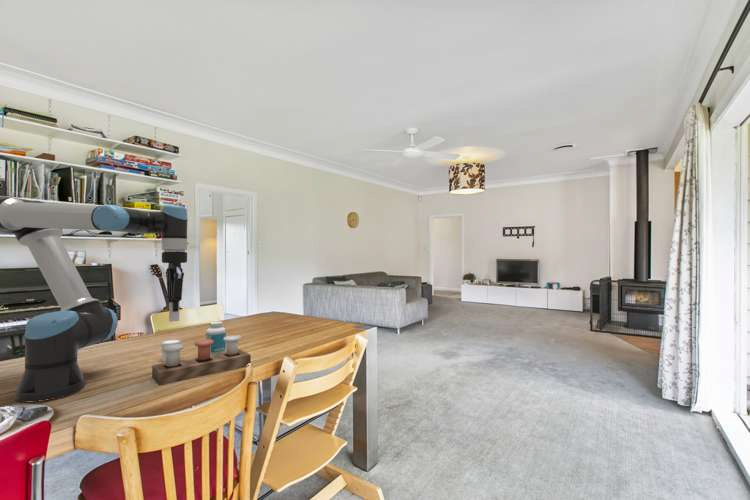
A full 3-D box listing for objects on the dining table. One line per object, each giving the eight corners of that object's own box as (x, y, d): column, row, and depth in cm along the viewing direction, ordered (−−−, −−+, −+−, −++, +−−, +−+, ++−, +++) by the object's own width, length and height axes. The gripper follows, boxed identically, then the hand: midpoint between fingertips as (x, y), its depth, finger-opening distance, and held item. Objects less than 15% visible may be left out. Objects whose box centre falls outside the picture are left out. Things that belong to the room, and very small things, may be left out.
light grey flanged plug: (165, 363, 134) (165, 344, 134) (157, 359, 138) (158, 341, 139) (184, 358, 140) (184, 341, 140) (176, 355, 144) (176, 338, 144)
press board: (159, 385, 112) (159, 372, 112) (151, 377, 119) (152, 365, 119) (250, 365, 133) (250, 354, 133) (239, 359, 140) (239, 349, 140)
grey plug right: (227, 356, 129) (227, 339, 129) (221, 352, 133) (221, 336, 133) (243, 353, 133) (243, 337, 133) (236, 350, 137) (237, 334, 137)
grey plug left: (164, 368, 115) (165, 349, 115) (160, 363, 119) (160, 346, 119) (185, 364, 119) (185, 346, 119) (180, 360, 123) (180, 343, 123)
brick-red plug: (197, 362, 122) (198, 344, 122) (192, 358, 126) (192, 341, 126) (215, 358, 126) (216, 341, 126) (209, 354, 130) (210, 338, 130)
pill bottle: (229, 353, 148) (229, 321, 149) (219, 358, 141) (220, 324, 141) (212, 352, 149) (212, 320, 149) (201, 357, 142) (202, 323, 142)
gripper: (192, 251, 117) (192, 322, 117) (181, 251, 127) (180, 316, 126) (167, 251, 112) (166, 325, 112) (157, 251, 121) (156, 319, 121)
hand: (174, 320), depth 119 cm, fingers closed
